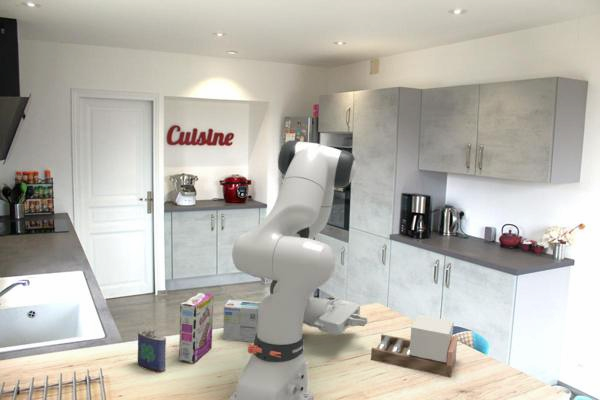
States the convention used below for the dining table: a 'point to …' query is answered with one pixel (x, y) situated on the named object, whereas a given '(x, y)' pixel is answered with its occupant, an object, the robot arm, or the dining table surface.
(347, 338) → the dining table surface
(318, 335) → the dining table surface
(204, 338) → the candy bar box
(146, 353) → the flask
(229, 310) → the light bulb box
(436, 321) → the off-white cardboard box
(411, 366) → the roller track
